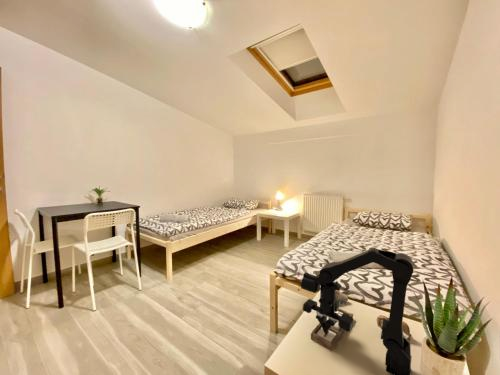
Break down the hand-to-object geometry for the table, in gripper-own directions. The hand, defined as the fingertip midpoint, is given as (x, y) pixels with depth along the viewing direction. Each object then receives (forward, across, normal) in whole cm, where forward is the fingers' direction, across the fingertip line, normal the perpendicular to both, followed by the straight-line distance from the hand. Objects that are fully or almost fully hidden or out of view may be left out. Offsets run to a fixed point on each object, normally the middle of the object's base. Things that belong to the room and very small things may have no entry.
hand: (326, 333), depth 87 cm
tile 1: (+2, 0, 0) cm, 2 cm away
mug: (+2, +6, -30) cm, 30 cm away
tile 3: (+2, 0, -15) cm, 15 cm away
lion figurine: (+2, -20, -20) cm, 28 cm away
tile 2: (0, 0, -8) cm, 8 cm away
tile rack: (+2, 0, -8) cm, 8 cm away
